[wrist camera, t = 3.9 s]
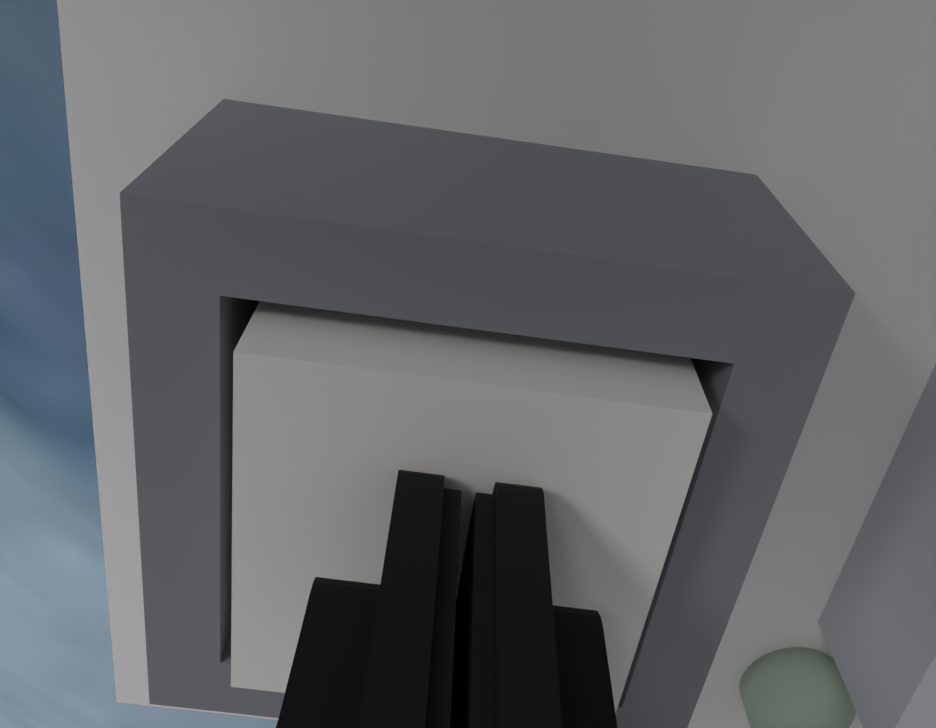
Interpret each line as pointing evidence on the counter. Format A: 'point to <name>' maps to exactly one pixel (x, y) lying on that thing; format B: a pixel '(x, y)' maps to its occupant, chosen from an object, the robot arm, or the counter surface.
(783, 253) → the panel
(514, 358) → the button
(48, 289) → the counter surface
